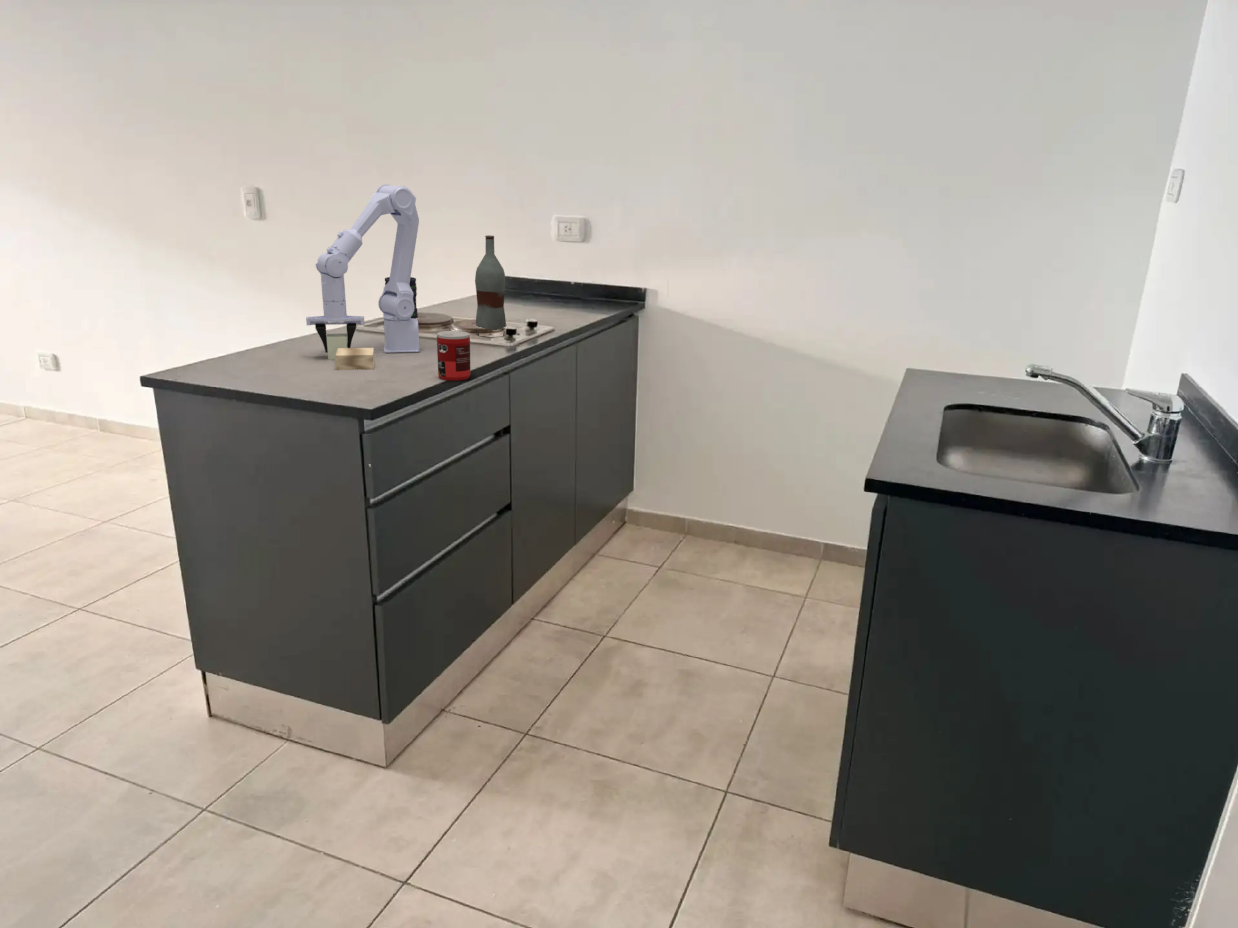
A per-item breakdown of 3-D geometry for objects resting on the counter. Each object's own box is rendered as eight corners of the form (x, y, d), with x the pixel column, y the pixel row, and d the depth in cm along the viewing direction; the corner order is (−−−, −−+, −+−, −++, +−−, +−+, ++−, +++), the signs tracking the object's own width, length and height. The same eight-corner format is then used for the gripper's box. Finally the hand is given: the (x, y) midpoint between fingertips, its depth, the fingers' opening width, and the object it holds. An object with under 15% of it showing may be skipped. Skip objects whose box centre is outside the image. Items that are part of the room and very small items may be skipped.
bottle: (486, 339, 258) (484, 237, 248) (470, 334, 264) (468, 234, 254) (511, 336, 264) (511, 236, 254) (495, 331, 270) (494, 234, 260)
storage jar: (413, 328, 269) (411, 281, 264) (383, 327, 269) (380, 279, 264) (421, 323, 278) (419, 277, 273) (391, 322, 278) (389, 276, 273)
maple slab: (374, 362, 224) (373, 347, 222) (373, 370, 216) (372, 355, 214) (338, 363, 222) (337, 348, 220) (336, 371, 213) (335, 355, 212)
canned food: (440, 373, 214) (438, 330, 210) (471, 374, 215) (471, 331, 211) (436, 380, 207) (434, 336, 203) (469, 381, 207) (468, 336, 204)
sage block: (348, 355, 229) (346, 333, 227) (348, 359, 225) (346, 337, 223) (328, 355, 228) (327, 333, 226) (328, 359, 223) (326, 337, 221)
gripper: (362, 298, 227) (366, 348, 231) (305, 298, 223) (309, 349, 227) (363, 302, 220) (366, 353, 225) (304, 302, 216) (308, 354, 221)
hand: (338, 351), depth 226 cm, fingers closed on sage block, 5 cm apart
